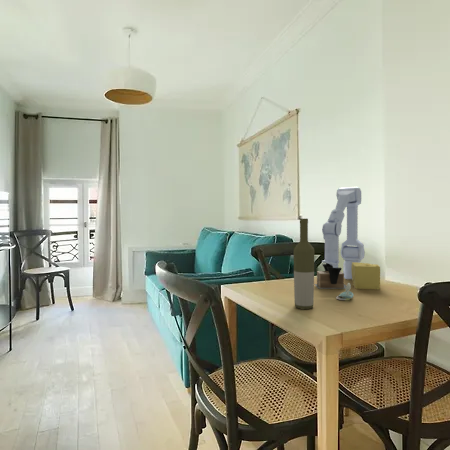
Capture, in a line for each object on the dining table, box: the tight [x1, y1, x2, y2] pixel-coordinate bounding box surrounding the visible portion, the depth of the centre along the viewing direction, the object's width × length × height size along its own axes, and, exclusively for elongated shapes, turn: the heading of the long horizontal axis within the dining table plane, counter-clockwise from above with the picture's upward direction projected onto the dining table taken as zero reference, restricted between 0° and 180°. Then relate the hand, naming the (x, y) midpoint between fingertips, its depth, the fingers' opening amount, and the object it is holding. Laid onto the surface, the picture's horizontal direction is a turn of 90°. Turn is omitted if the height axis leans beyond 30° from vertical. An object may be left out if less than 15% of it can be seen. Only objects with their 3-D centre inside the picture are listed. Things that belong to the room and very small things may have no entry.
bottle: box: [292, 218, 315, 310], centre depth 117 cm, size 7×7×30 cm
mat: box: [314, 283, 347, 290], centre depth 148 cm, size 9×13×1 cm
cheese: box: [351, 262, 381, 290], centre depth 147 cm, size 10×11×10 cm
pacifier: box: [335, 282, 354, 301], centre depth 128 cm, size 7×6×6 cm
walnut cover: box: [316, 270, 345, 288], centre depth 148 cm, size 6×10×6 cm, turn 86°
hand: (331, 282), depth 148 cm, fingers open, 7 cm apart
